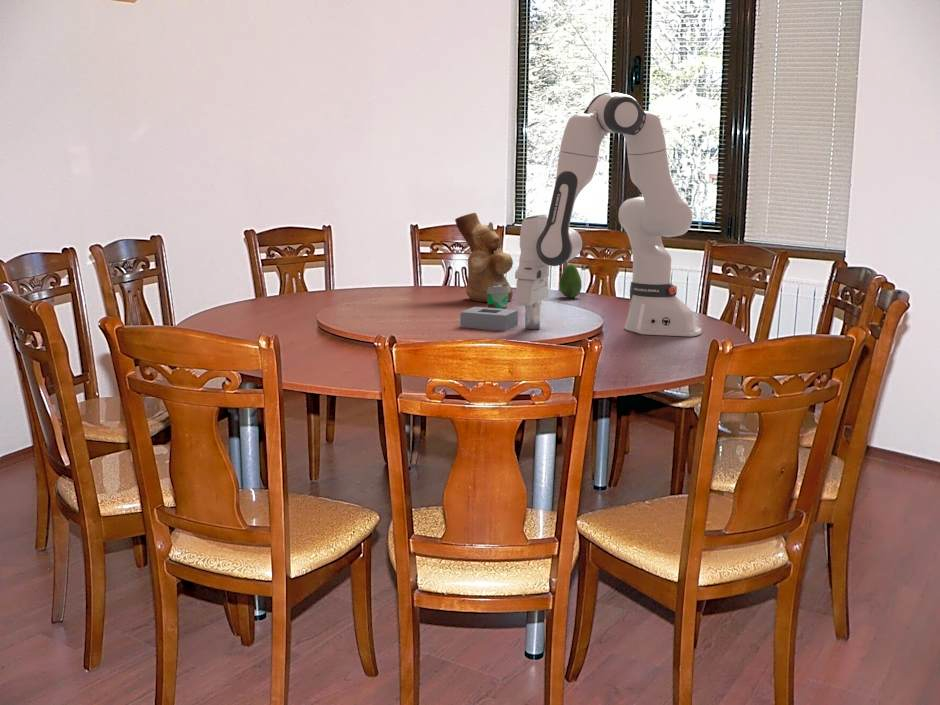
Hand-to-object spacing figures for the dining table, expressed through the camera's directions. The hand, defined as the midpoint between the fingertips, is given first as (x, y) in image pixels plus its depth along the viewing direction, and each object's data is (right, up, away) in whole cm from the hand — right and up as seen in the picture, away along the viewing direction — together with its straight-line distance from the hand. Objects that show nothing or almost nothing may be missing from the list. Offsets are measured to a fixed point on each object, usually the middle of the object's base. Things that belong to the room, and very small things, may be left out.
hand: (532, 317), depth 317 cm
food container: (-9, +1, +22) cm, 24 cm away
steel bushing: (0, -3, +1) cm, 3 cm away
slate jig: (-13, -3, +4) cm, 14 cm away
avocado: (+17, +9, +67) cm, 70 cm away
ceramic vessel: (-14, +8, +58) cm, 60 cm away
